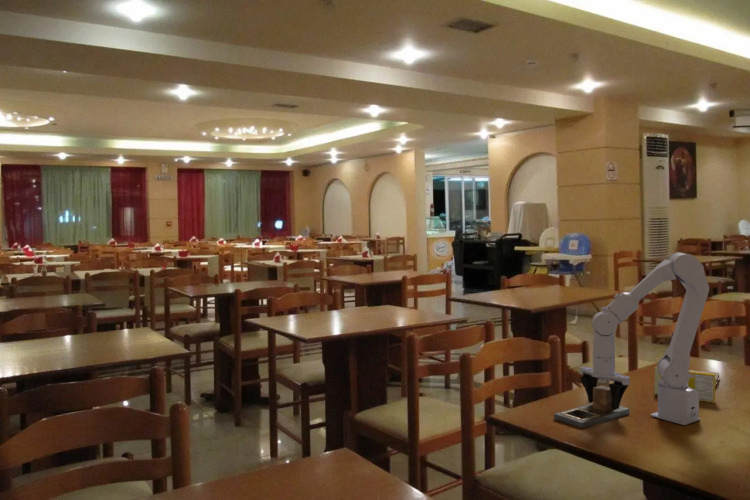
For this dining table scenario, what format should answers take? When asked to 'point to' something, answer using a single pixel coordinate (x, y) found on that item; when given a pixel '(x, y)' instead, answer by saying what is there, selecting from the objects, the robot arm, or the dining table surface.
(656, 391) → the candy box
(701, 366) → the dining table surface
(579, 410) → the grey peg holder tray
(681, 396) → the robot arm
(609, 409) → the square peg block
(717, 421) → the dining table surface
